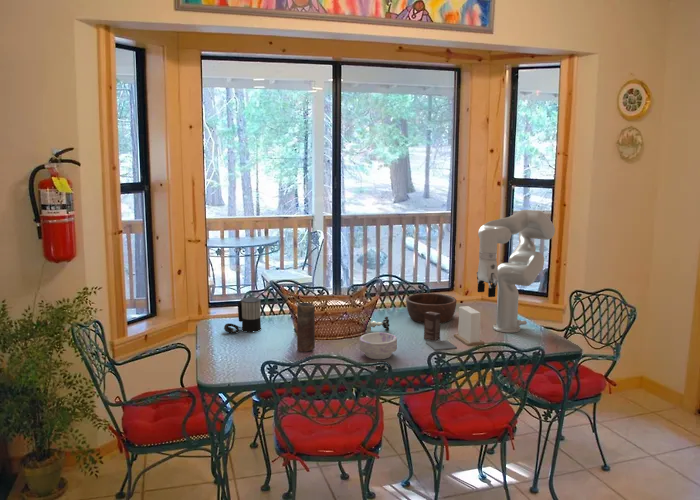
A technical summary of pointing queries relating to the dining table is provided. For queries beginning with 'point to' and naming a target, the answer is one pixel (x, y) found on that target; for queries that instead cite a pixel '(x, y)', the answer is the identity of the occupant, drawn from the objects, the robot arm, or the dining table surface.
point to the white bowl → (378, 345)
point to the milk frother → (247, 315)
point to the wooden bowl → (431, 306)
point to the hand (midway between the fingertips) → (486, 294)
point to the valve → (378, 324)
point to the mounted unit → (469, 326)
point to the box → (432, 326)
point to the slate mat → (441, 345)
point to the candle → (305, 327)
